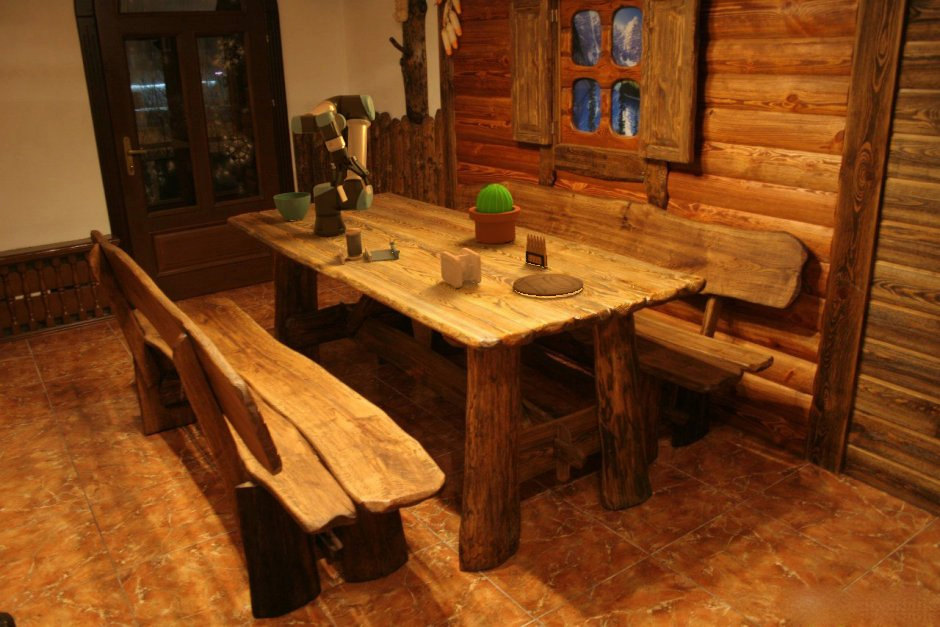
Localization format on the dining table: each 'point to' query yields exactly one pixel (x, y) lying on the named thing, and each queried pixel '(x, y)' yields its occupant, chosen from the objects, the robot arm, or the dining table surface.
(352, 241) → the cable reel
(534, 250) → the ammunition clip
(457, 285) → the cable organizer
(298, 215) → the green rounded bowl
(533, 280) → the trivet
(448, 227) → the dining table surface
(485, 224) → the potted cactus
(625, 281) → the dining table surface
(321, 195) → the robot arm
